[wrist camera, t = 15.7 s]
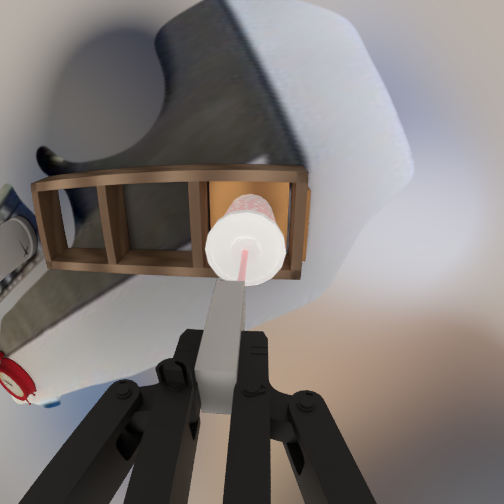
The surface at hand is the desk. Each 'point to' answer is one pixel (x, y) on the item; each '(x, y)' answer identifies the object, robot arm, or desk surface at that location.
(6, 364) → the alarm clock
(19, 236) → the travel mug
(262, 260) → the beverage cup
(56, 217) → the walnut rack
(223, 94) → the desk surface
